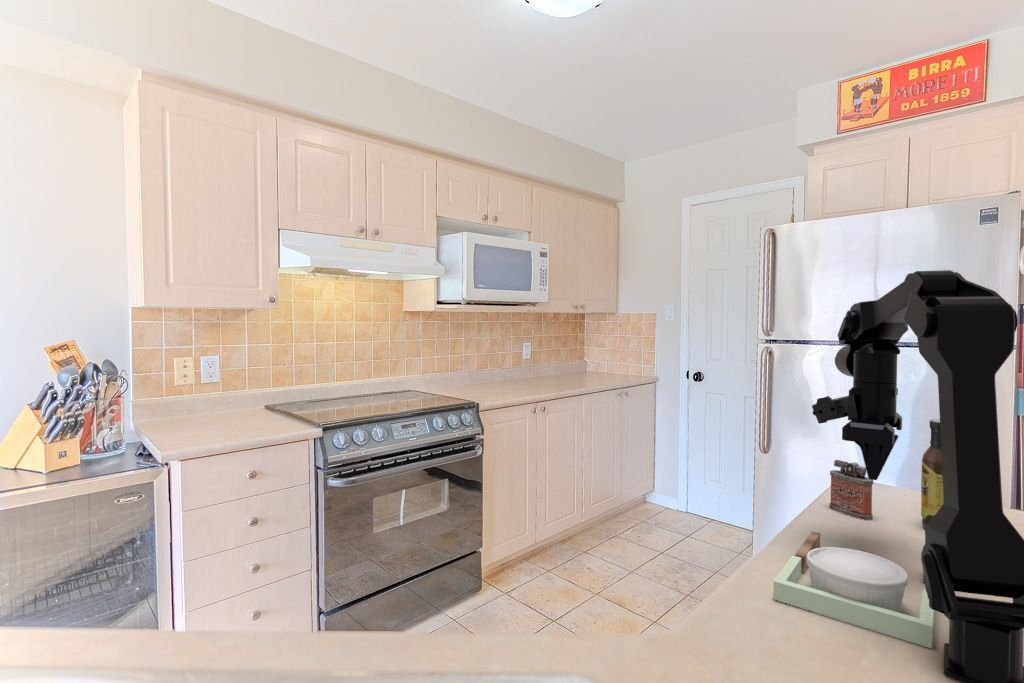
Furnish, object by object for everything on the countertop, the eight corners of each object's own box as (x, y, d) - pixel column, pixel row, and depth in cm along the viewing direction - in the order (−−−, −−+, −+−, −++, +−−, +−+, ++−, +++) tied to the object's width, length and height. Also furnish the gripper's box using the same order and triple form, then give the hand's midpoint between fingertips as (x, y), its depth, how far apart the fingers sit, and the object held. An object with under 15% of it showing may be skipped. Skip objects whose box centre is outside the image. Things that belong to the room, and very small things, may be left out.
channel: (932, 608, 67) (932, 583, 67) (794, 571, 78) (795, 550, 77) (935, 575, 76) (935, 553, 76) (811, 546, 87) (812, 527, 87)
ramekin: (812, 575, 77) (813, 539, 77) (908, 599, 70) (908, 560, 70) (798, 606, 68) (799, 566, 68) (906, 637, 61) (907, 593, 61)
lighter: (877, 518, 99) (877, 466, 99) (864, 521, 98) (865, 468, 98) (836, 505, 107) (837, 457, 107) (825, 507, 106) (826, 458, 106)
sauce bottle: (926, 521, 98) (927, 416, 98) (969, 531, 93) (971, 420, 93) (916, 529, 94) (918, 419, 94) (961, 540, 89) (963, 424, 89)
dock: (931, 648, 59) (932, 626, 59) (773, 599, 69) (773, 581, 69) (934, 610, 67) (935, 591, 67) (792, 572, 77) (792, 555, 77)
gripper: (827, 375, 96) (826, 460, 96) (804, 382, 81) (803, 482, 82) (903, 379, 88) (901, 470, 89) (893, 388, 74) (891, 497, 74)
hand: (872, 479), depth 84 cm, fingers closed
